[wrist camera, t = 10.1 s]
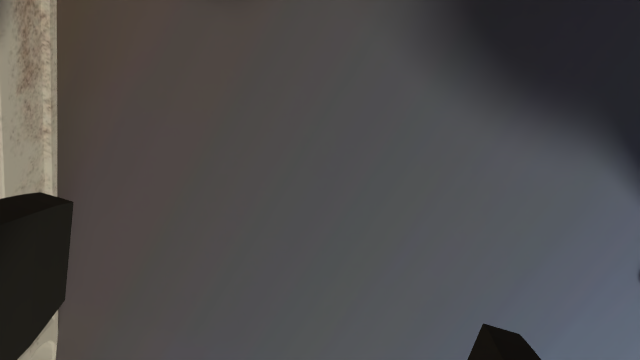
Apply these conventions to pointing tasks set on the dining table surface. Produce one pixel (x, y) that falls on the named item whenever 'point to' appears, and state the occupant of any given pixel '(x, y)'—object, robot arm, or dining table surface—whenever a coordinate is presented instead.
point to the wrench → (29, 116)
